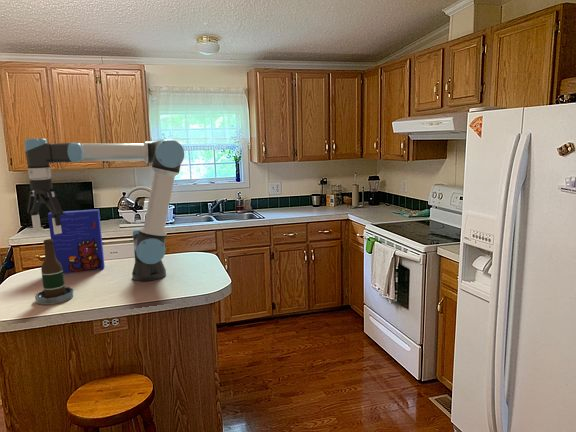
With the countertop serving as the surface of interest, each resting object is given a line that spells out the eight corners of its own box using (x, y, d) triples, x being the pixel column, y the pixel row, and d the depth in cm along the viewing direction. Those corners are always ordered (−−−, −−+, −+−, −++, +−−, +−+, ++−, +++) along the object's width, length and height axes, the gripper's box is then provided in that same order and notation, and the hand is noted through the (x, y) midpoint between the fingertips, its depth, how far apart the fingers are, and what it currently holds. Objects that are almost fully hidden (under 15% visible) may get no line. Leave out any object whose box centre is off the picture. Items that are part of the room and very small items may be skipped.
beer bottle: (63, 299, 170) (56, 241, 166) (42, 301, 168) (34, 242, 164) (68, 292, 177) (61, 237, 173) (47, 294, 175) (40, 238, 171)
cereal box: (104, 266, 219) (98, 208, 213) (103, 269, 213) (97, 210, 208) (57, 271, 211) (50, 211, 206) (55, 274, 206) (47, 213, 201)
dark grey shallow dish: (80, 293, 178) (79, 287, 178) (58, 305, 165) (57, 298, 165) (51, 292, 180) (51, 286, 180) (28, 304, 168) (27, 297, 167)
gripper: (12, 179, 167) (20, 231, 171) (50, 180, 155) (57, 236, 159) (31, 177, 174) (38, 228, 177) (69, 178, 162) (76, 232, 165)
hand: (47, 232), depth 168 cm, fingers open, 13 cm apart
